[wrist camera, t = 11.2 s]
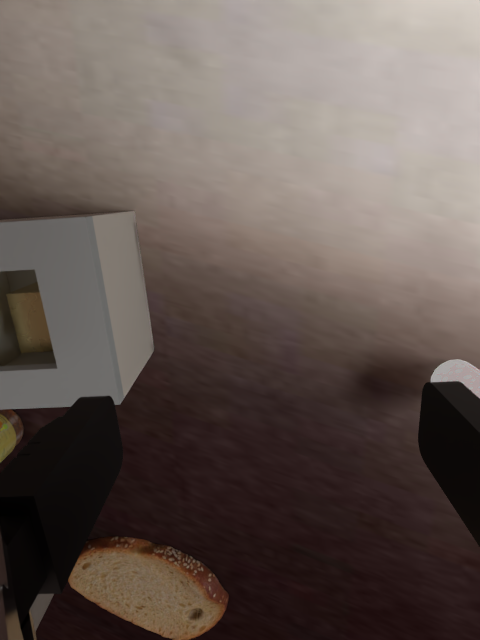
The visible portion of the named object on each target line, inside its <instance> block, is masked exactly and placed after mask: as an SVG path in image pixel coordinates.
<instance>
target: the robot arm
mask: <svg viewBox="0 0 480 640" xmlns="http://www.w3.org/2000/svg"><path fill="white" fill-rule="evenodd" d="M418 442H419V449H420V453H421V456H422V458H423V460H424V462H425V464H426V465H427V467H428V468H429V470H430V472H431V473H432V475H433V476H434V478H435V479H436V481H437V482H438V484H439V485H440V487H441V488H442V490H443V491H444V493H445V494H446V496H447V498H448V499H449V501H450V502H451V504H452V505H453V507H454V508H455V510H456V511H457V513H458V514H459V516H460V517H461V519H462V521H463V522H464V524H465V525H466V527H467V528H468V530H469V531H470V533H471V534H472V536H473V537H474V539H475V540H476V542H477V543H478V545H479V547H480V398H479V397H478V396H476V395H475V394H474V393H473V392H472V391H471V390H470V389H468V388H467V387H466V386H465V385H464V384H463V383H461V382H459V381H448V382H428V383H426V384H425V385H424V387H423V391H422V401H421V411H420V422H419V433H418ZM122 459H123V447H122V441H121V436H120V431H119V425H118V420H117V414H116V409H115V404H114V401H113V399H112V397H111V396H89V397H80V398H78V399H77V401H76V402H75V403H74V404H73V405H72V406H71V408H70V409H69V410H68V411H67V412H66V413H65V415H64V416H63V417H58V418H56V419H55V420H53V421H52V422H50V423H49V424H47V425H45V426H44V427H42V428H41V429H40V430H39V431H38V432H37V433H36V434H35V435H34V436H33V438H32V439H31V440H30V441H29V442H28V445H27V446H24V447H23V449H22V450H21V451H20V452H19V453H18V454H17V458H14V459H13V460H12V461H11V462H10V463H9V464H8V465H7V466H6V467H5V468H4V470H3V471H2V472H1V473H0V640H37V638H36V633H35V628H34V623H33V618H32V615H31V612H30V608H31V606H32V605H33V603H34V601H35V599H36V597H37V595H38V594H61V593H62V591H63V589H64V587H65V585H66V583H67V581H68V579H69V577H70V575H71V572H72V570H73V568H74V566H75V564H76V562H77V560H78V558H79V556H80V554H81V551H82V549H83V547H84V545H85V543H86V541H87V539H88V537H89V535H90V533H91V531H92V528H93V526H94V524H95V522H96V520H97V518H98V516H99V514H100V512H101V510H102V507H103V505H104V503H105V501H106V499H107V497H108V495H109V493H110V491H111V489H112V486H113V484H114V482H115V480H116V478H117V476H118V474H119V472H120V469H121V465H122Z"/></svg>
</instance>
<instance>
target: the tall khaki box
mask: <svg viewBox="0 0 480 640" xmlns="http://www.w3.org/2000/svg"><path fill="white" fill-rule="evenodd" d="M6 296H7V300H8V304H9V308H10V312H11V316H12V320H13V323H14V327H15V331H16V335H17V339H18V343H19V347H20V351H21V353H29V352H49V351H53V347H52V343H51V338H50V334H49V330H48V325H47V321H46V317H45V312H44V308H43V304H42V299H41V295H40V291H39V286H38V282H35V283H33V284H30V285H28V286H25V287H23V288H20V289H18V290H15V291H13V292H10V293H8V294H6Z"/></svg>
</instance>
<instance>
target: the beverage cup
mask: <svg viewBox="0 0 480 640" xmlns="http://www.w3.org/2000/svg"><path fill="white" fill-rule="evenodd" d="M448 381H459V382H461V383H463V384H464V385H465V386H466V387H467V388H468V389H470V390H471V391H472V392H473V393H474V394H475V395H476V396H478V397H479V398H480V370H479V369H477V368H476V367H474V366H473V365H471V364H469V363H468V362H466V361H462V360H459V359H457V360H449V361H447V362H444V363H442V364H441V365H440V366H438V367H437V368H436V369H435V370H434V372H433V374H432V377H431V382H448Z"/></svg>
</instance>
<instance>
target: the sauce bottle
mask: <svg viewBox="0 0 480 640" xmlns="http://www.w3.org/2000/svg"><path fill="white" fill-rule="evenodd" d="M23 429H24V428H23V424H22V421H21V419H20V417H19V416H18V415H17V414H16V412H14V411H13V410H12V409H3V410H0V463H1V462H2V461H3V460H4V459H5V458H6V457H7V456H8V455H9V454H10V453H11V452H12V450H13V449H14V447H15V445H17V444H18V443H19V442H20V440H21V439H22V436H23Z"/></svg>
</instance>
